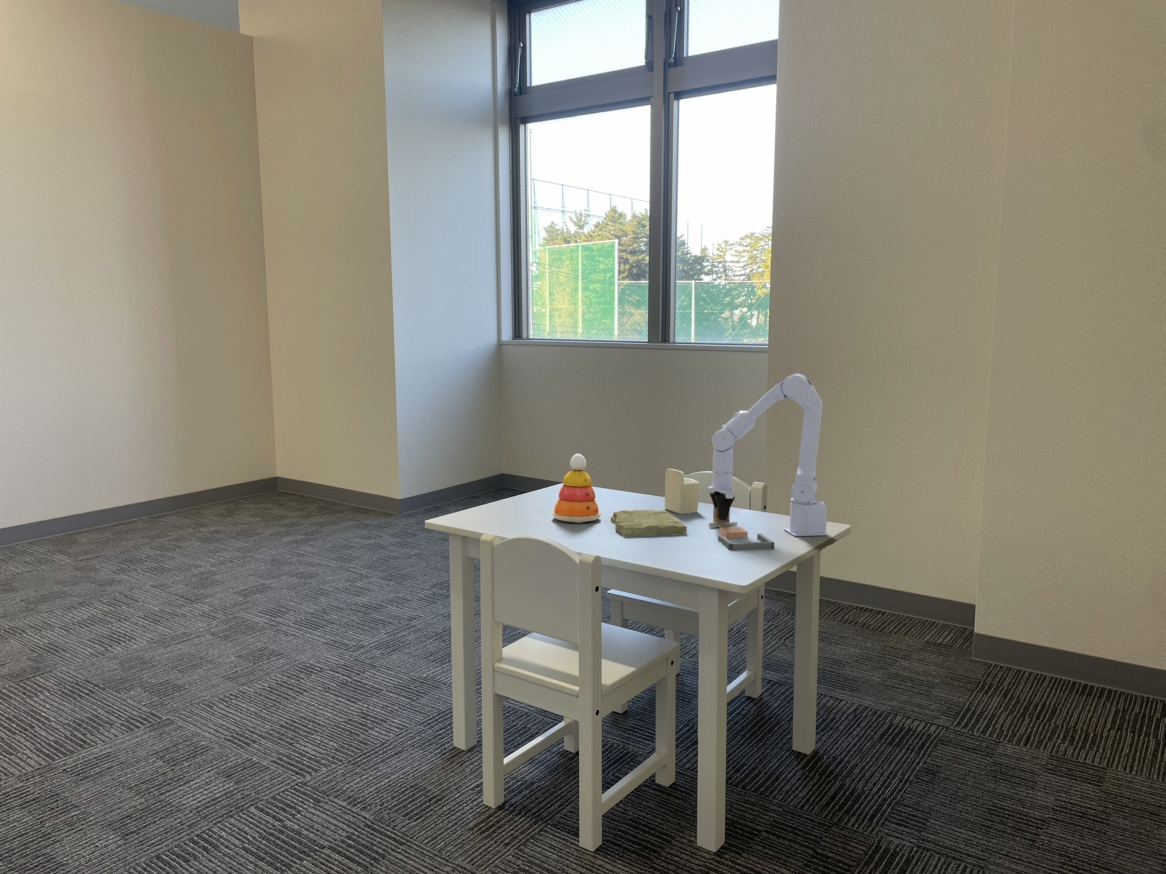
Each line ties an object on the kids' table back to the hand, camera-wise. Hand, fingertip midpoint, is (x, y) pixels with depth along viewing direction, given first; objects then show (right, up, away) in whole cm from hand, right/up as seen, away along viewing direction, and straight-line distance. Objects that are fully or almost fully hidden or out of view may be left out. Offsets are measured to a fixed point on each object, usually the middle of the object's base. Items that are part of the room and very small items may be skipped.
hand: (721, 518), depth 247 cm
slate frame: (+3, -5, -20) cm, 21 cm away
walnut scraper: (0, -2, 0) cm, 2 cm away
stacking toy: (-42, -1, +7) cm, 42 cm away
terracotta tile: (+2, -4, -10) cm, 11 cm away
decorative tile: (-22, -3, -2) cm, 22 cm away
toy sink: (-9, 0, +20) cm, 22 cm away
